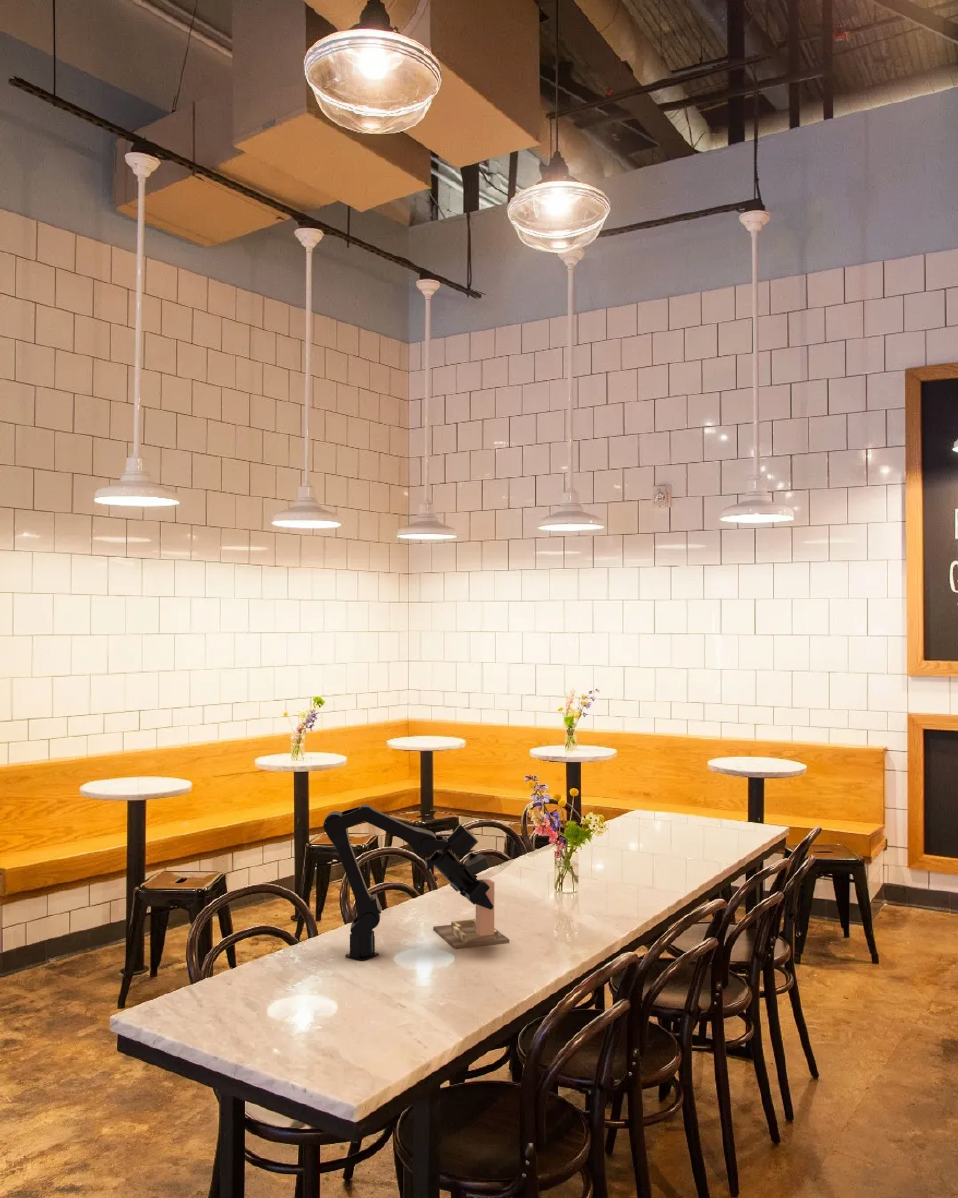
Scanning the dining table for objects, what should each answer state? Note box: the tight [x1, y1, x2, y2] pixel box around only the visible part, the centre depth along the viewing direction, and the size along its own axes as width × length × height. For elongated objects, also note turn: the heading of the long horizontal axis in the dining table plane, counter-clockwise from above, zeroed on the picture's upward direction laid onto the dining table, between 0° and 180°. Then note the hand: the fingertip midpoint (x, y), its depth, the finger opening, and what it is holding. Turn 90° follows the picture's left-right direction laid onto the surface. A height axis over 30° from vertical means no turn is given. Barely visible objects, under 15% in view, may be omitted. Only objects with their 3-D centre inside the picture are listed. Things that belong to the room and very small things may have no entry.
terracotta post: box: [475, 878, 495, 936], centre depth 274 cm, size 4×4×14 cm
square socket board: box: [432, 918, 510, 950], centre depth 286 cm, size 20×16×3 cm
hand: (489, 906), depth 275 cm, fingers closed on terracotta post, 4 cm apart
